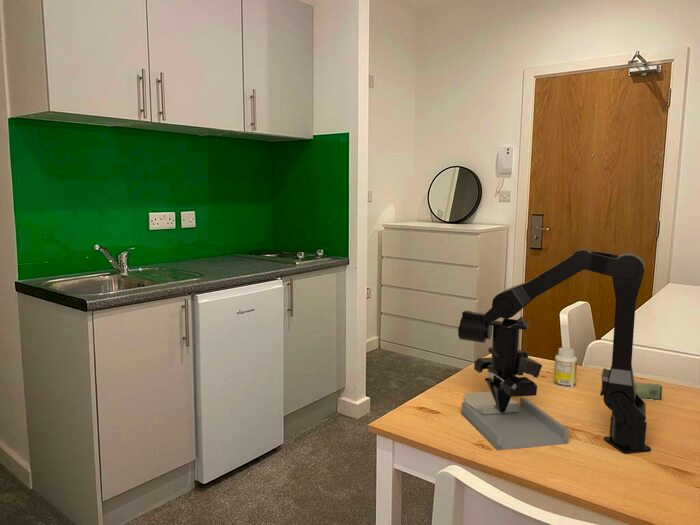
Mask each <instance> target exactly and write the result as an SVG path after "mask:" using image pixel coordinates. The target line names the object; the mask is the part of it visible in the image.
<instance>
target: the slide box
mask: <svg viewBox="0 0 700 525" xmlns="http://www.w3.org/2000/svg"><path fill="white" fill-rule="evenodd" d="M519 399H520V401H519V412H508V413H496V414H481V413H480V412H479V411H477V410H476V409H475V408H473V407H472V406H471V405H469V404H468V403H466V402H465V401H462V402H461V412H460V413H461V416H463V417H464V419H465V420H466V421H467V422H468V423H469V424H471V426H472V427H473V428H475V430H476V431H477V432H478V433H480V435H481V436H483V438H484V439H485V440H486V441H487V442H488V443H490V445H492V447H493V448H495V450H496V451H503V450H505V451H506V450H513V449H525V448H527V449H528V448H535V447H536V448H537V447H546V446H547V447H548V446H558V445H559V446H560V445H567V444H569V437H570V436H569V435H570V429H568V428H567V427H565V425H563V424H561V423H560V422H559V421H557V420H556V419H554V418H553V417H552V416H550V415H549V414H548V413H546V412H544V411H543V410H542V409H541V408H539V407H538V406H536V404H534V403H532V402H531V401H529V400H528V399H527V398H525V397H520V398H519Z"/></svg>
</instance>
